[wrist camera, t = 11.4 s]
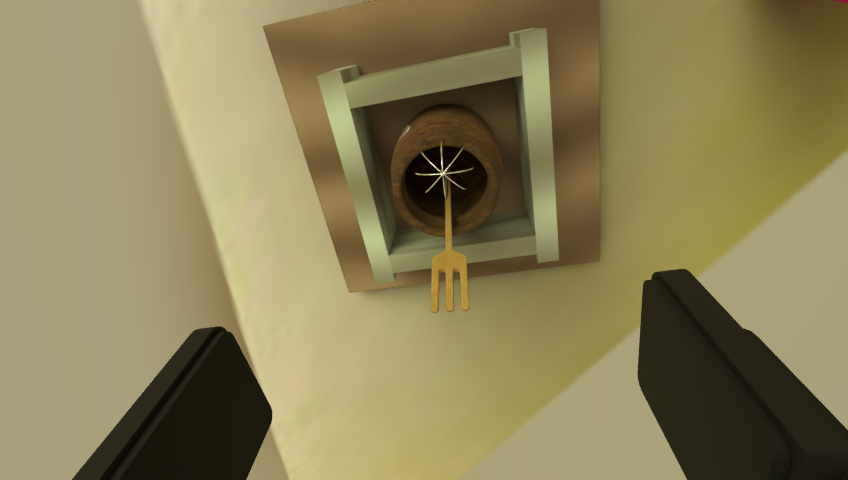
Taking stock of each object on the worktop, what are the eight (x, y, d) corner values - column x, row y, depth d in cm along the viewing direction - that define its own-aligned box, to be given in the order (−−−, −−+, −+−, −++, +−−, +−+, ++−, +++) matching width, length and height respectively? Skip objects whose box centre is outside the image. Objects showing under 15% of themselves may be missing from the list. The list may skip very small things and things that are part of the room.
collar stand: (273, 26, 24) (227, 25, 20) (590, -47, 22) (629, -68, 17) (353, 281, 32) (335, 327, 27) (593, 250, 30) (621, 293, 25)
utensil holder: (494, 94, 24) (526, 148, 13) (497, 196, 27) (526, 308, 16) (393, 105, 25) (346, 164, 14) (406, 204, 27) (377, 316, 17)
